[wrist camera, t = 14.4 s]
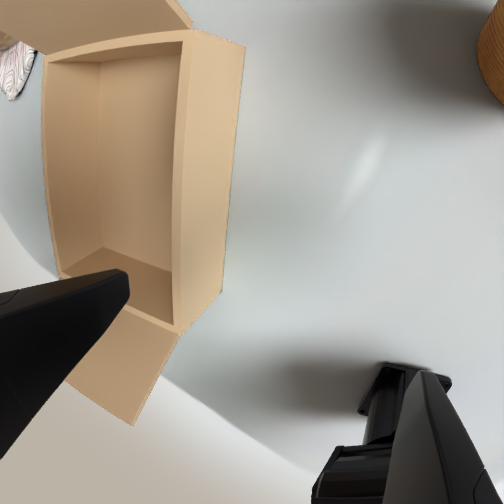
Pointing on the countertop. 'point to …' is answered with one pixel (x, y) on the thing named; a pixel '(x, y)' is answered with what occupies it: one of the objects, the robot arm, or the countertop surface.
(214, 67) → the carton
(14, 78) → the cookie jar
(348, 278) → the countertop surface
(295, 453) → the countertop surface
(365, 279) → the countertop surface
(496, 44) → the disposable coffee cup
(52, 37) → the near flap
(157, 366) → the far flap
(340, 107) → the countertop surface
